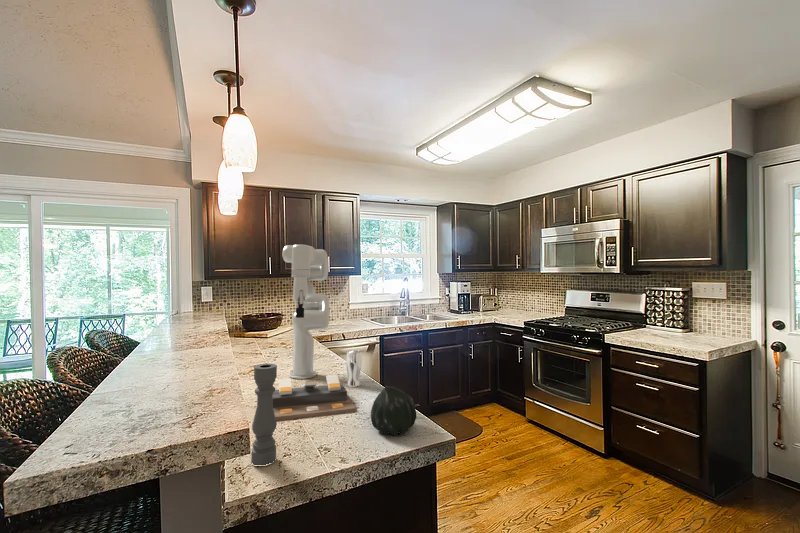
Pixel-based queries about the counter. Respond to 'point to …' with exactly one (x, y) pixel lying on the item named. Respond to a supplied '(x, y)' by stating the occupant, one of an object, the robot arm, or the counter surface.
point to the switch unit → (311, 402)
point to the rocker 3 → (333, 382)
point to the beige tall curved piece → (353, 367)
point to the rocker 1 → (285, 386)
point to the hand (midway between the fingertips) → (299, 317)
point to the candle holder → (264, 415)
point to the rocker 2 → (309, 384)
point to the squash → (393, 411)
